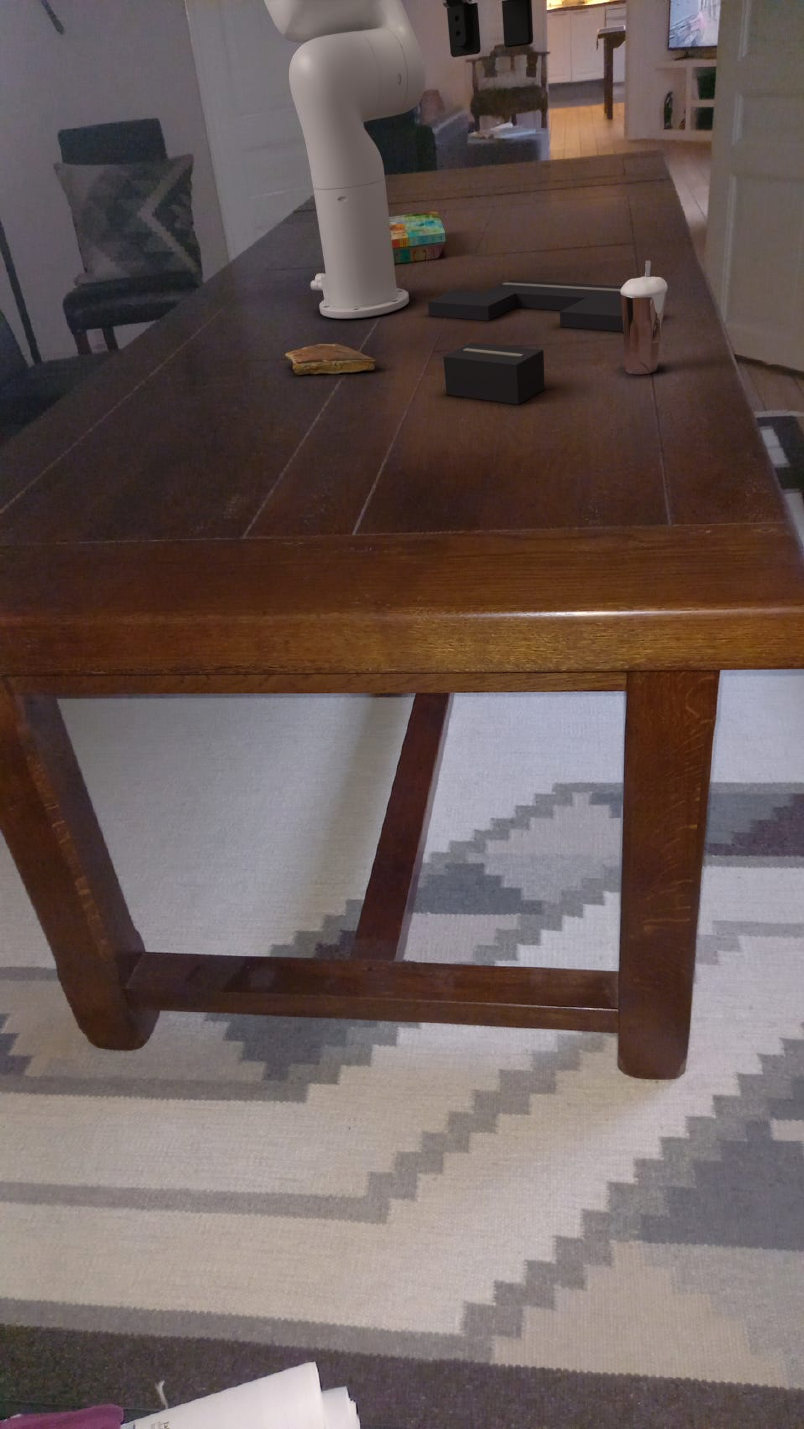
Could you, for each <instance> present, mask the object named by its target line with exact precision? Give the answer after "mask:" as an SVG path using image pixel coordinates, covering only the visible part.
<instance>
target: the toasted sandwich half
mask: <svg viewBox="0 0 804 1429" xmlns="http://www.w3.org/2000/svg"><path fill="white" fill-rule="evenodd" d="M285 357H286V358H287V359H288V360H289V361H290V362H292V369H293V372H294V373H295V374H296V375H297V376H303V375H308V374H309V375H318V374H331V375H335V374H342V373H357V372H362V371H373V370H375V368H376V367H375V363H376V361H377V358H373V357H371V356H369V355H365V354H363V353H361V352H360V351H358V350H355V349H353V348H352V347H349V346H348V347H347V346H346V345H343V344H339V343H337V342H336V343H332V344H331V343H330V344H329V343H327V344H326V343H318V344H313V345H309V346H306V347H302V348H298V349H297V348H296V349H294V350H291V351H288V352H286V353H285Z"/></svg>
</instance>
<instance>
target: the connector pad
mask: <svg viewBox="0 0 804 1429" xmlns="http://www.w3.org/2000/svg"><path fill="white" fill-rule="evenodd" d="M544 354H545V351H544V349H541V348H532V347H531V348H529V347H521V346H520V347H519V346H512V345H511V346H509V345H499V344H491V343H490V344H489V343H479V342H470V343H467V344H465V345H463V346H461V347H459V348H457V349H455V350H453V351H451V352H450V353H447V354H445V355H444V356H443V370H444V379H445V393H446V395H447V396H454V397H459V398H460V397H462V398H466V399H476V400H482V401H489V402H496V403H504V404H510V405H511V404H512V405H521V404H522V403H523V402H525V401H527V400H529V399H530V398H532V397H534V396H535V395H537V394H538V393H540V392H542V391H544V390H545V387H546V386H545V359H544V358H545V355H544Z"/></svg>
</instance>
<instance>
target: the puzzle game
mask: <svg viewBox="0 0 804 1429" xmlns="http://www.w3.org/2000/svg"><path fill="white" fill-rule="evenodd" d="M389 220H390V230H391V239H392V248H393V258H394V265H395V264H402V263H403V264H404V263H411V262H418V261H425V260H435V259H438V258H439V257H440V255H441V253H442V251H443V250H444V248H445V245H446V242H447V238H446V236H447V235H446V231H445V228H444V225H443V223H442V220H441V217H440V213H439V212H438V211H426V212H419V213H411V214H403V215H395V216H389Z"/></svg>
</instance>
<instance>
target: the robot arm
mask: <svg viewBox="0 0 804 1429" xmlns="http://www.w3.org/2000/svg"><path fill="white" fill-rule="evenodd" d="M473 1H474V0H441V2H442V5H443V7H444V8H446V16H447V28H448V38H449V52H450V56H451V57H452V58H459V57H465V56H466V57H467V56H473V55H478V54H480V52H481V48H482V47H481V46H482V44H481V33H480V32H481V31H480V18H479V3H478V2H473ZM263 2H264V4H265V7H266V9H267V11H268V14H269V15H270V18H271V20H272V22H273V25H274V26H275V28H276V29H277V32H279V34H280V35H281V36H282V37H283V39H286V40H287V41H288V42H292V43H299V44H301V43H303V44H301V45H300V46H299V47H298V48H297V50H296V51H295V52H294V54H293V55H292V57H291V60H290V63H289V66H288V67H289V68H288V83H289V84H288V85H289V88H290V94H291V97H292V102H293V104H294V107H295V110H296V113H297V117H298V120H299V124H300V127H301V130H302V135H303V139H304V143H305V148H306V154H307V158H308V165H309V171H310V177H311V184H312V189H313V196H314V203H315V210H316V217H317V224H318V229H319V230H318V231H319V236H320V244H321V250H322V255H323V256H322V257H323V263H324V273H323V272H321V273H320V272H318V273H317V274H316V275H315V278H314V279H312V280H311V281H310V284H309V286H310V289H311V290H312V291H316V292H317V291H318V292H321V291H322V294H323V300H322V301H321V302H320V303H319V311H320V314H321V315H322V316H323V317H326V318H330V319H337V320H338V319H340V320H352V319H353V320H354V319H364V318H370V317H376V316H381V315H385V314H389V313H392V312H395V311H397V310H400V309H402V308H404V307H405V306H407V305H408V304H409V303H410V295H409V292H408V291H407V290H406V289H403V288H399V287H398V286H397V278H396V276H397V275H396V269H395V268H396V266H395V264H394V258H393V248H392V239H391V230H390V220H389V217H390V213H389V202H388V194H387V184H386V176H385V167H384V162H383V159H382V155H381V152H380V151H379V149H378V146H377V145H376V144H375V142H374V140H373V139H372V137H371V136H370V134H368V132H367V130H366V129H365V126H364V125H363V123H366V122H369V121H373V120H379V119H384V118H389V117H390V118H391V117H394V116H399V115H403V114H405V113H408V112H410V111H412V110H414V108H416V107H417V106H418V104H419V103H420V102H421V100H422V98H423V97H424V93H425V89H426V81H427V80H426V79H427V78H426V77H427V76H426V66H425V60H424V56H423V53H422V50H421V46H420V44H419V41H418V38H417V35H416V33H415V31H414V28H413V25H412V24H411V20H410V19H409V16H408V14H407V12H406V10H405V7H404V4H403V2H402V0H263ZM501 12H502V30H503V45H504V47H505V48H514V47H521V46H522V47H523V46H529V45H532V44H533V42H534V24H533V1H532V0H501Z"/></svg>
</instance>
